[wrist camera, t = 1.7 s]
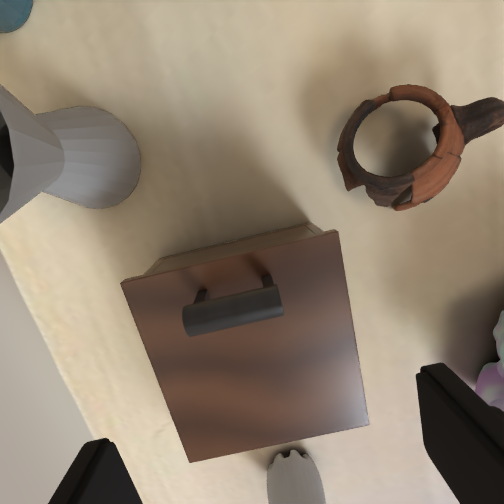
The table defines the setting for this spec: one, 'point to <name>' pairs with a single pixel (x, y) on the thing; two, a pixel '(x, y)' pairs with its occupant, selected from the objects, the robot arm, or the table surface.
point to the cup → (13, 14)
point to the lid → (253, 345)
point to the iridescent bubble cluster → (494, 372)
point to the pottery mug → (442, 159)
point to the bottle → (294, 480)
